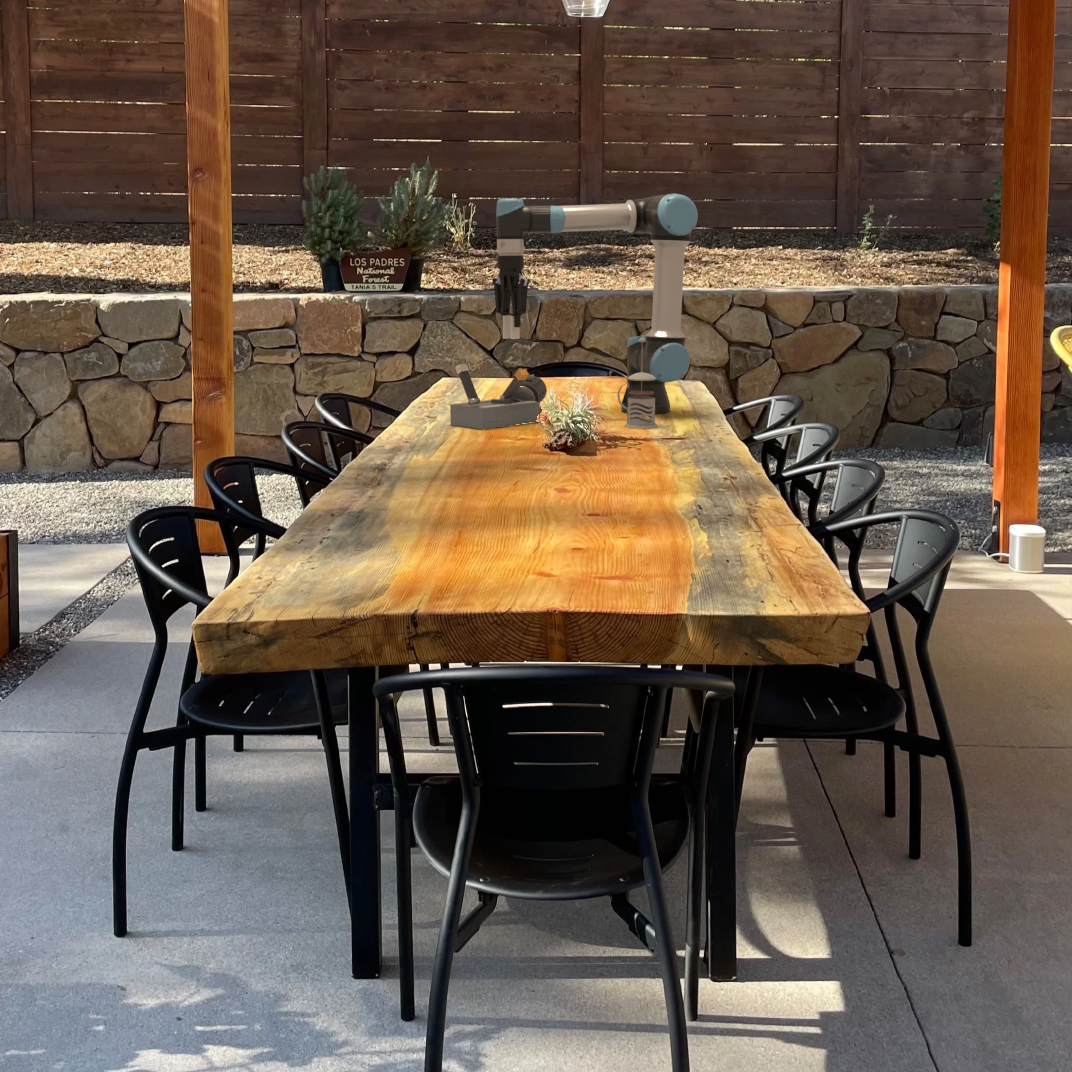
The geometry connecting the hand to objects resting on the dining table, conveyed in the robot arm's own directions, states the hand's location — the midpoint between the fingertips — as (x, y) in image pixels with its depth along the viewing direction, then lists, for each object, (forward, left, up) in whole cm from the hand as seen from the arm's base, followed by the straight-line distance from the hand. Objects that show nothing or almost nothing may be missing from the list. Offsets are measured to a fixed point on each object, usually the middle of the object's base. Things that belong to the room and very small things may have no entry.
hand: (511, 338), depth 389 cm
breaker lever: (+3, -1, -17) cm, 17 cm away
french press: (-34, -13, -25) cm, 44 cm away
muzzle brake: (+10, -24, -25) cm, 36 cm away
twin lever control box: (+4, +3, -24) cm, 25 cm away
